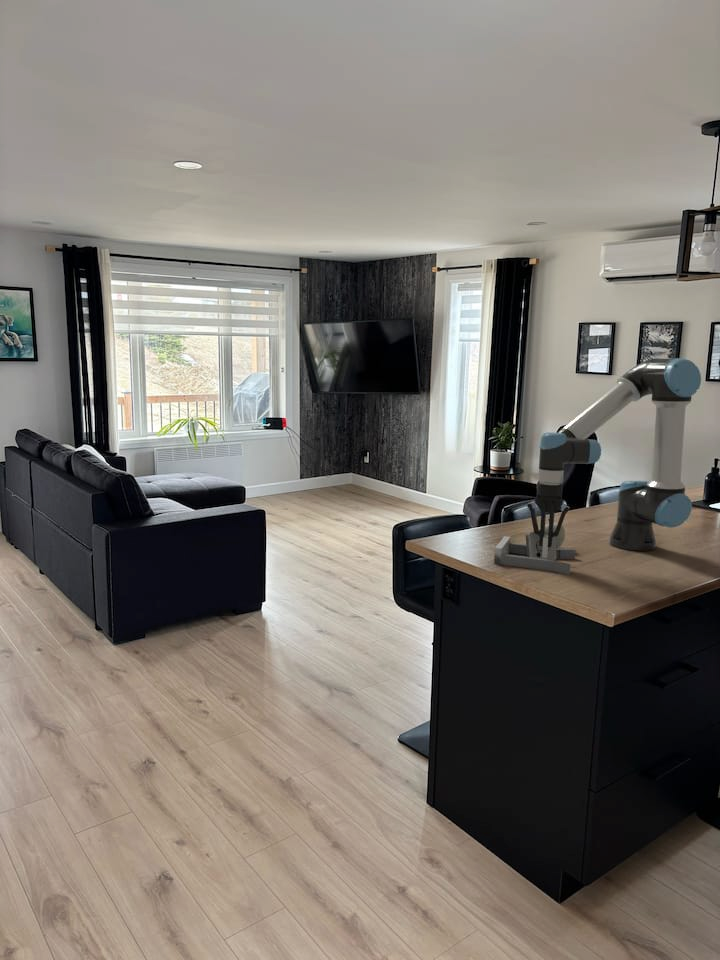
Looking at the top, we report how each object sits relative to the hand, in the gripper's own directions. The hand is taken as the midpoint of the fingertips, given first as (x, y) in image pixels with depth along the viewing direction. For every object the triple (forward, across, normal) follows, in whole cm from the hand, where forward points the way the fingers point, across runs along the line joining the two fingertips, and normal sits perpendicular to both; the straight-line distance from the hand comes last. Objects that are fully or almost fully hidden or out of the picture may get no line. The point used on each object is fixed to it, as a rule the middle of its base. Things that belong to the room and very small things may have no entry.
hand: (544, 556), depth 222 cm
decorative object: (+2, 0, -20) cm, 20 cm away
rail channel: (+2, +3, 0) cm, 3 cm away
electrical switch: (+2, +2, -4) cm, 5 cm away
